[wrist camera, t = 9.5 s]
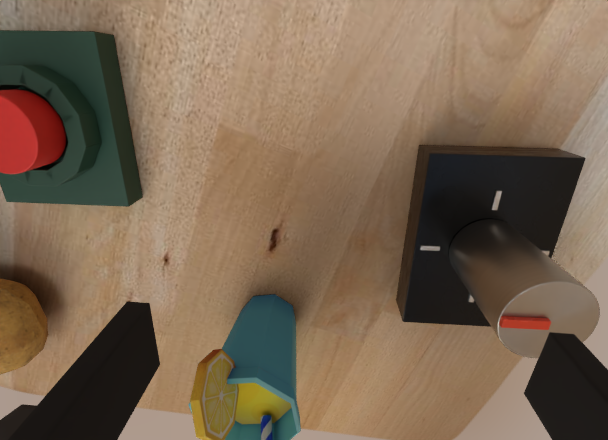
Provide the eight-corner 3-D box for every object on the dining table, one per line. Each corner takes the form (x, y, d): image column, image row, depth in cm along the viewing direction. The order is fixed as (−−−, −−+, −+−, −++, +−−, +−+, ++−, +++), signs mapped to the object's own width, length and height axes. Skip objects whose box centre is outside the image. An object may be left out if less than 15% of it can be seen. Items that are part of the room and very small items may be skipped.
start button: (74, 165, 24) (47, 175, 22) (6, 163, 24) (-27, 173, 22) (55, 89, 22) (23, 91, 20) (-18, 88, 22) (-58, 90, 20)
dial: (527, 220, 24) (620, 287, 17) (510, 280, 26) (585, 365, 18) (455, 217, 24) (513, 282, 17) (443, 277, 26) (490, 360, 19)
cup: (344, 358, 34) (355, 550, 20) (278, 384, 36) (248, 575, 22) (268, 249, 30) (218, 400, 16) (198, 285, 32) (100, 447, 18)
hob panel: (509, 305, 31) (528, 329, 28) (395, 299, 31) (403, 323, 28) (557, 148, 25) (587, 158, 22) (418, 144, 26) (430, 153, 23)
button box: (142, 197, 29) (115, 215, 25) (28, 193, 29) (-15, 210, 25) (114, 34, 24) (75, 28, 20) (-23, 33, 24) (-84, 26, 21)
